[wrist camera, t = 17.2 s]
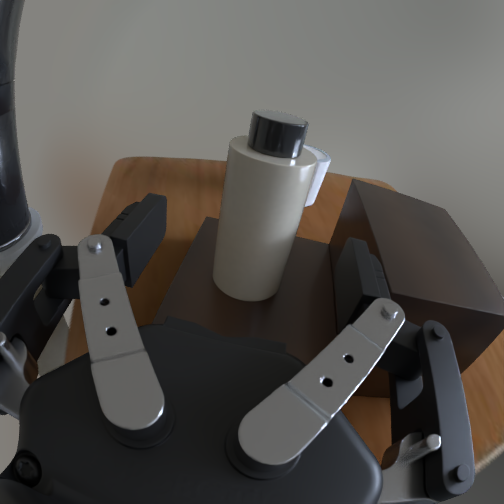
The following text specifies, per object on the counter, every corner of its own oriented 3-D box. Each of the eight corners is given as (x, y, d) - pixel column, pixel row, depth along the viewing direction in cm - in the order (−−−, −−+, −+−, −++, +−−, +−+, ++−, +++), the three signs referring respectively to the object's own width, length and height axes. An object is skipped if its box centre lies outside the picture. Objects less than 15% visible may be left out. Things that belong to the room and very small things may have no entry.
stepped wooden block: (152, 355, 19) (139, 235, 13) (203, 241, 30) (214, 146, 24) (432, 399, 19) (513, 317, 13) (403, 286, 30) (445, 209, 24)
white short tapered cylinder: (285, 210, 39) (297, 160, 34) (263, 185, 43) (271, 140, 39) (327, 207, 41) (341, 162, 37) (302, 184, 46) (313, 142, 42)
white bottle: (204, 291, 21) (225, 115, 14) (221, 248, 25) (244, 102, 18) (277, 308, 21) (330, 138, 14) (282, 263, 25) (323, 119, 18)
